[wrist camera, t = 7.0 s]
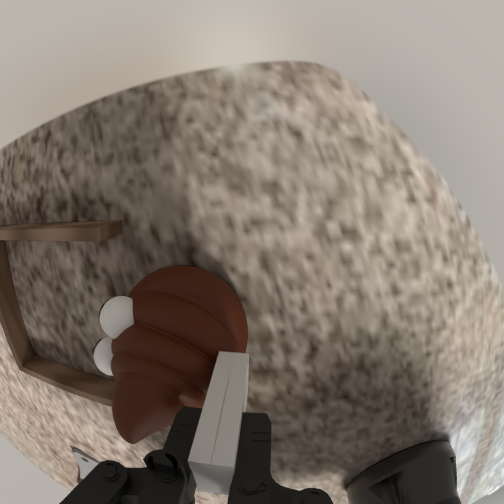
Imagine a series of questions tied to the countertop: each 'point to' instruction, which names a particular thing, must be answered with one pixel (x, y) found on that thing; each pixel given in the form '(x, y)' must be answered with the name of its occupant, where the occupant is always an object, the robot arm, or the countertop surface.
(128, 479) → the robot arm
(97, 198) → the countertop surface
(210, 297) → the poop emoji
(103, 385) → the walnut corral
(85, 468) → the kitchen cleaver
